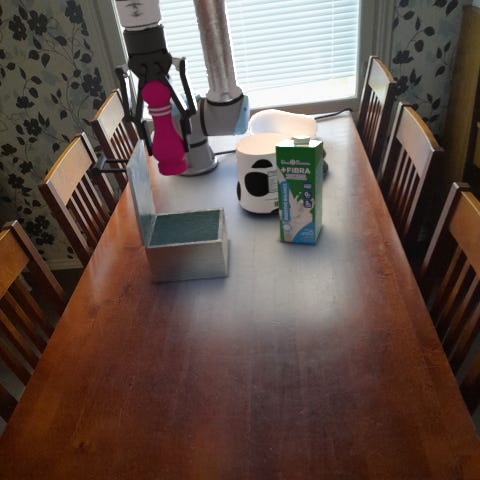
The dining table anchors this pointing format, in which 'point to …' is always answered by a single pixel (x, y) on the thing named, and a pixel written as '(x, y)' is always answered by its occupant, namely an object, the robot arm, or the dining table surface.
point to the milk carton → (300, 189)
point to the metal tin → (188, 245)
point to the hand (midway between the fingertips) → (169, 151)
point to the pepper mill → (164, 130)
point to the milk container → (258, 172)
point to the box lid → (135, 186)
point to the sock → (283, 124)
